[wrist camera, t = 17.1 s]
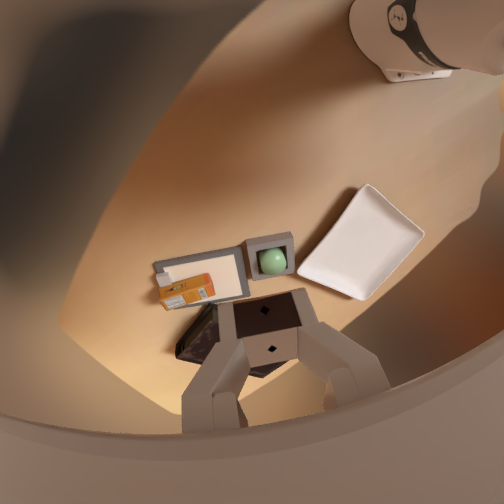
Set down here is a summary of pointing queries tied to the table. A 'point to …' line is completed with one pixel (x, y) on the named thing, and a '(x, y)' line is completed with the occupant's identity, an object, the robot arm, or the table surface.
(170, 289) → the supplement box
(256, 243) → the button bezel
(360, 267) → the salad plate
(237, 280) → the clipboard
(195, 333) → the diary
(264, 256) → the button
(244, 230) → the table surface
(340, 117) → the table surface
